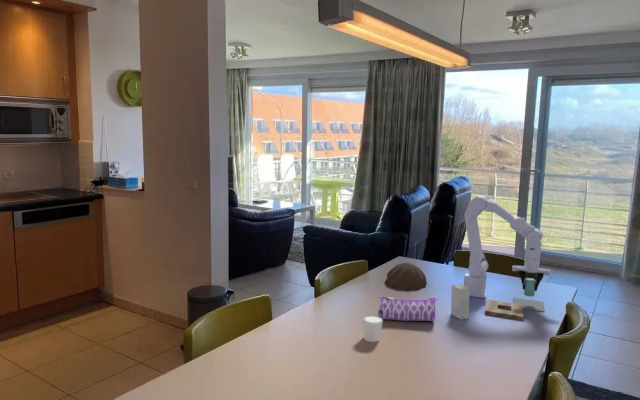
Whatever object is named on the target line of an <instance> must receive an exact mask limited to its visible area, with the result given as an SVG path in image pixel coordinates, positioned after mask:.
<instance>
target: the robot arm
mask: <svg viewBox="0 0 640 400" xmlns="http://www.w3.org/2000/svg"><path fill="white" fill-rule="evenodd" d="M483 211H484V212H486V213H487V212H489V213H495V214H496V215H497V216H499V217H500V218H501V219H503V220H505V221H506V222H507V223H509V226H510V228H511V229H512V230H513V231H515V232H516V233H518V234H519V235H521V237H523V238H524V239H525V242H526V245H525V252H524V263H523V264H524V265H512V266H511V267H512V268H511V269H512V272H518V275H519V277H520V280H521V286H522V290H524V289H525V279H526V273H530V274H531V273H532V274H536V275H535V280H536V283H535V292H537V290H538V287H539V284H541V281H542V280H543V278H544V275H546V276H551V275H552V274H551V273H552V270H551V269H549V268H548V269H546V268H541V267H540V263H541V262H540V261H541V251H542V247H541V246H542V240H543V237H544V234H543V232H542V231H541V229H540V228H539V227H538V228H537V227H536V226H535V225H532V224H531V223H529V222H527V221H526V218H525V217H521V216H514V215H513V214H512V213H510V212H509V211H508V210H507V209H506V208H504V207H503V206H502V205H500V204H499V203H498V202H496V201H495V200H494V199H493V198H490V197H489V196H488V195H486V194H481V195H479V196H475V197H473V198H472V199H471V200H470V201H469V202H468V206H467V208H466V210H465V213H464V221H465V228H466V235H467V240H468V242H467V243H468V247H469V255H470V256H469V260H468V261H469V264H468V265H469V266H468V272H469V273H464V276H463V286H465V287H467V288H469V289H470V291H469V297H476V298H483V299H486V297H487V291H486V290H487V287H486V286H487V272H486V271H488V269H489V263H488V261H487V259H486V256H485V254H484V252H483V247H482V241H481V240H482V239H481V235H480V228H479V223H478V217H479V216H480V215H481V214H482V213H483Z"/></svg>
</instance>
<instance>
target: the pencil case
mask: <svg viewBox="0 0 640 400" xmlns="http://www.w3.org/2000/svg"><path fill="white" fill-rule="evenodd" d="M379 299H380V303H379V306H378V307H379V308H378V316H380V318H382V319H383V320H391V321H392V320H395V321H410V322H411V321H415V322H418V321H419V322H420V321H421V322H422V321H424V322H434V321H436V301H439V298H438V297H437V296H434V297H430V298H426V299H413V298H412V299H410V298H396V297H390V296H389V297H388V296H386V295H382V294H379Z"/></svg>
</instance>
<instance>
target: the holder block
mask: <svg viewBox="0 0 640 400" xmlns="http://www.w3.org/2000/svg"><path fill="white" fill-rule="evenodd" d="M484 315H487V316H494V317H500V318H506V319H512V320H518V321H524V309H523V305H521V304H515V303H513V302H508V301H507V302H506V301H499V300H494V299H487V300H486V304H485V308H484Z"/></svg>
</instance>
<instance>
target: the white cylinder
mask: <svg viewBox="0 0 640 400" xmlns="http://www.w3.org/2000/svg"><path fill="white" fill-rule="evenodd" d="M383 321H384V319H382V318H381V316H377V315H366V316H363V317H362V328H363V329H362V330H363V340H364V341H366V342H370V343H377V342H379V341H381V336H382V329H383Z"/></svg>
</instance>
